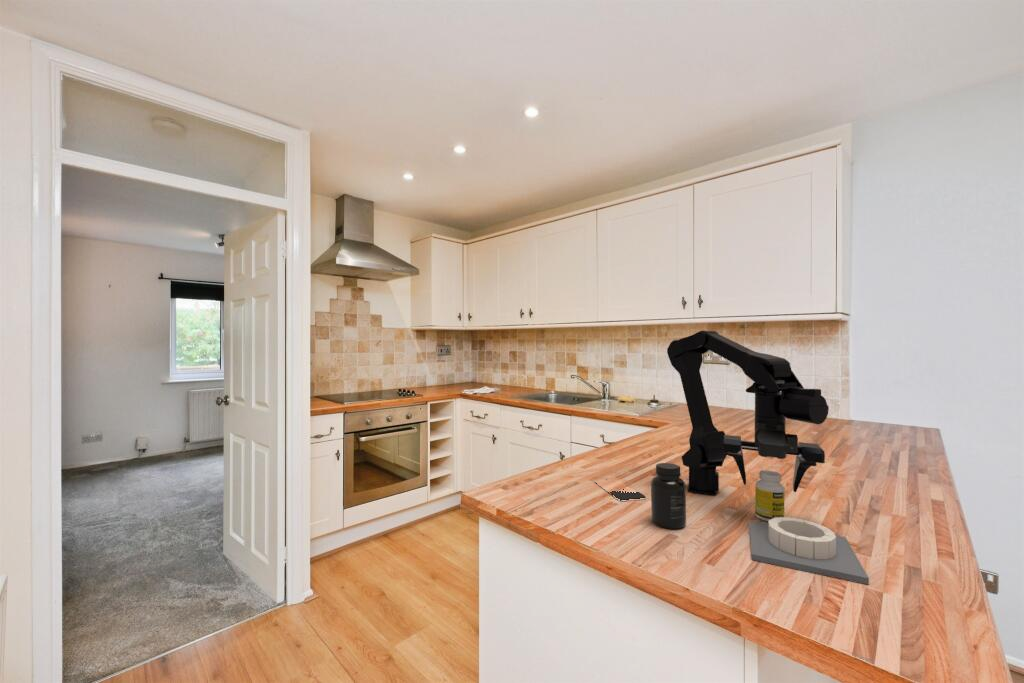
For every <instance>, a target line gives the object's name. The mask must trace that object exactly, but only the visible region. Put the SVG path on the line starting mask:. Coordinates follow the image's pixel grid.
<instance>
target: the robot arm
mask: <svg viewBox="0 0 1024 683" xmlns="http://www.w3.org/2000/svg"><path fill="white" fill-rule="evenodd" d="M666 350H667V352H666V353H667V356H668V359H669V362H670V365H671V366H672V367H673V368H674V370H675V371H676V372H677V373H678V374H679V377H680V382H681V385H682V390H683V394H684V396H685V397H684V398H685V402H686V406H687V409H688V410H687V411H688V413H689V418H690V419H689V420H690V423H691V426H692V428H691V432H690V435H689V443H688V444H689V449H688V450H686V452H685V453H684V454H682V455H681V460H682V464H683V466H685V467H688V486H687V492H690V493H691V492H692V493H697V494H703V495H710V496H716V495H717V492H719V489H720V486H719V485H720V484H719V483H720V481H719V480H720V476H719V475H720V473H719V472H718V471H717V467H720V468H721V467H723V464H724V461H725V459H726V458H727V456H728V457H731V458H733V460H734V461H735V464H736V465H737V467H738V470H739V474H740V477H741V480H742V483H743V485H744V486H746V485H747V474H746V467H745V461H744V453H743V450H746V451H755V452H758V453H757V454H758V456H760V457H763V458H777V459H779V460H783V459H784V460H785V459H786V457H787V455H790V456H791V455H792V456H795V464H794V470H793V480H792V491H793V493H797V491H798V488H799V487H800V486H799V485H800V484H801V481H802V479H803V477H804V475H805V474H806V472H807V470H808V469H809V468H811V467H817V464H825V463H826V458H825V457H826V455H825V450H824V449H823V448H822V447H821V446H820V445H819V444H817V443H812V442H801V441H799V440H798V439H799V438H798V434H791V433H786V419H788V420H791V421H792V420H793V421H798V422H803V423H809V424H812V425H813V424H814V425H821V424H823V423H824V422H826V419H828V415H829V411H830V410H829V405H828V402H827V400H826V398H825V396H823V395H822V390H821V388H804V386H803V384H802V383H801V382H800V381H799V379H798V377H797V376H796V375H795V373H794V371H793V370H792V367H791V363H790V361H788V360H787V359H785V358H784V357H780V356H777V355H772V354H768V353H763V352H757V351H755V350H752V349H750V348H748V347H747V346H744V345H741V344H739V343H738V342H735V341H733V340H731V339H729V338H728V337H725V336H724V335H721V334H719V333H718V332H717V331H715V330H700V331H697V332H696V333H694V334H691V335H688V336H685V337H683V338H680V339H677V340H676V339H675V340H672V341H671V342H670V343H669V345H668V347H667V349H666ZM709 351H710V352H713V353H714V354H716V355H718V356H720V357H721V358H723V359H726V360H727V361H729V362H730V363H732V364H734V365H736V366H738V367H739V368H740V369H741V370H742V372H743V373H744V375H745V376H746V377H748V378H749V379H750V380H752V382H753V383H752V384H751V385H750V386H749V387H747V388H746V389H745V392H746V393H749V394H750V393H751V394H754V441H748V440H742V436H741V435H740V436H739V435H731V434H726V432H725V431H724V430H718V429H717V427H716V426H715V425H714V423H713V419H712V415H711V411H710V406H709V402H708V399H707V396H706V392H705V391H706V390H705V387H704V384H703V380H702V376H701V372H700V370H701V367H702V364H703V361H704V360H703V358H704V357H703V355H705V354H707V353H709Z"/></svg>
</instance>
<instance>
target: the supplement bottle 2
mask: <svg viewBox="0 0 1024 683" xmlns="http://www.w3.org/2000/svg"><path fill="white" fill-rule="evenodd" d="M758 478H759V479H758V480H757V481H756V482H755V488H754V489H755V493H754V494H755V496H754V501H755V502H754V515H755V517H757V519H759V520H762V521H764V522H768V521H769V520H771V519H773V518H776V517H785V499H786V498H785V495H786V494H785V493H786V492H785V490H786V489H785V486H784V485H783V484H782V483H781V482H782V474H781V473H779V472H776V471H773V470H765V469H763V470H762V469H761V470H760V471H759V477H758Z"/></svg>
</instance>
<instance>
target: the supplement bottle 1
mask: <svg viewBox="0 0 1024 683" xmlns="http://www.w3.org/2000/svg"><path fill="white" fill-rule="evenodd" d="M655 474H656V476H654V477H653V478H652V479H651V482H650V486H651V488H650V489H651V490H650V494H651V495H650V496H651V497H650V498H651V500H650V501H651V504H650V505H651V506H650V508H651V509H650V510H651V521H652V523H653V524H654V525H656V526H657V527H660V528H663V529H666V530H667V529H668V530H679V529H682V528H683V529H684V527H685V526H686V524H687V495H686V494H687V491H686V486H687V485H686V483H685V481H684V480H683V479H682V478H680V477H681V475H682V474H681V466H680V465H678V464H675V463H671V462H670V463H669V462H660V463H657V464H656V465H655Z"/></svg>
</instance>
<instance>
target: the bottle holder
mask: <svg viewBox="0 0 1024 683" xmlns="http://www.w3.org/2000/svg"><path fill="white" fill-rule="evenodd" d="M767 522H768V523H767ZM767 522H763V521H757V520H750V519H749V521H748V526H749V538H750V539H749V540H750V542H749V543H750V553H751V560H752V561H756V562H761V563H765V564H771V565H775V566H779V567H783V568H789V569H793V570H799V571H804V572H807V573H813V574H817V575H823V576H827V577H832V578H836V579H840V580H844V581H845V580H846V581H851V582H856V583H860V584H863V585H864V584H865V585H870V577H869V576H868V574H867V572H866V571H865V569H864V567H863V565H862V564H861V561H860V560H859V558H858V556H857V555H856V553H855V552H854V550H853V548H852V546H851V544H850V543H849V540H848V538H846V536H841V535H838V534H835V532H834V531H833V530H832V529H829V528H828V527H826V526H824V525H822V524H819V523H816V522H813V521H810V520H806V519H802V518H796V517H795V518H794V517H787V516H784V517H776V518H773V519H771V520H769V521H767Z"/></svg>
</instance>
